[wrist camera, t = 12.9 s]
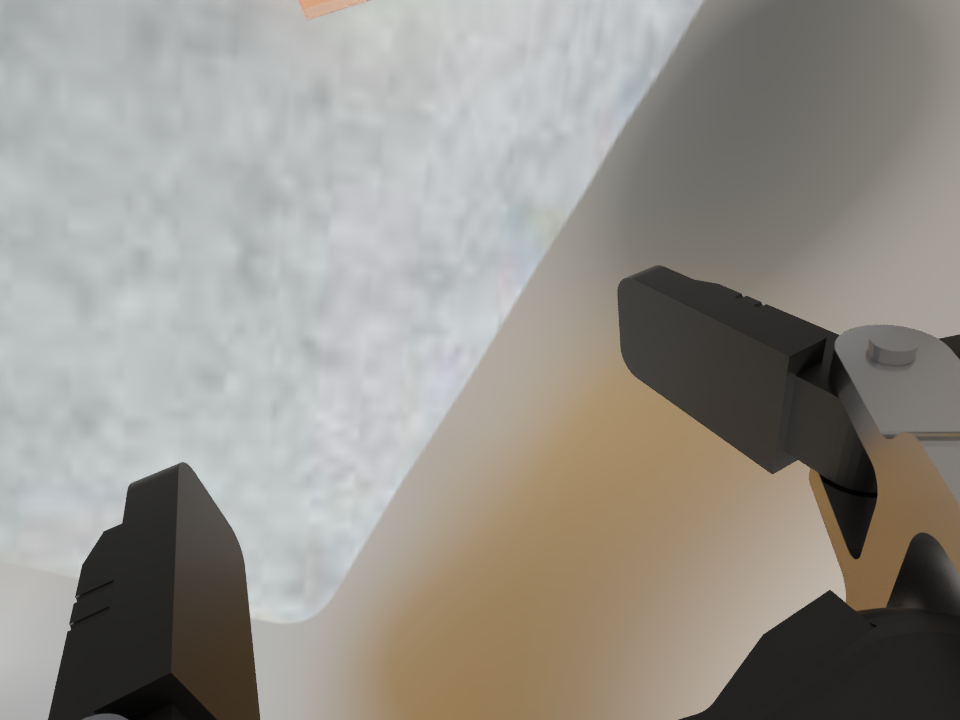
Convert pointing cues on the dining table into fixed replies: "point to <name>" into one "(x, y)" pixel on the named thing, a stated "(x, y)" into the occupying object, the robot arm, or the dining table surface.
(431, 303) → the dining table surface
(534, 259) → the dining table surface
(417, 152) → the dining table surface
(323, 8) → the orange square frame
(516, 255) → the dining table surface
